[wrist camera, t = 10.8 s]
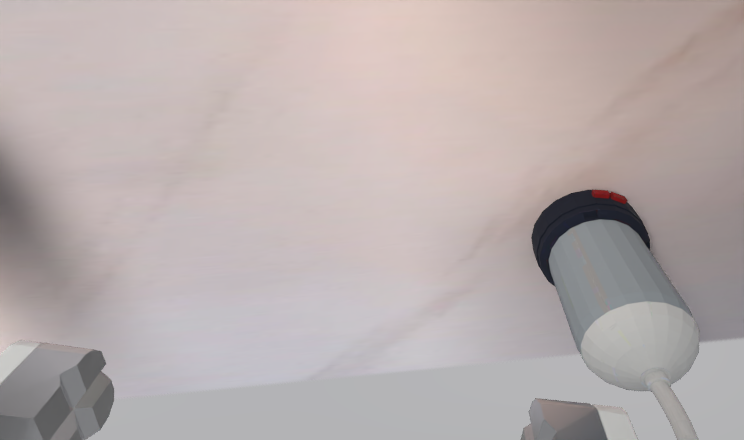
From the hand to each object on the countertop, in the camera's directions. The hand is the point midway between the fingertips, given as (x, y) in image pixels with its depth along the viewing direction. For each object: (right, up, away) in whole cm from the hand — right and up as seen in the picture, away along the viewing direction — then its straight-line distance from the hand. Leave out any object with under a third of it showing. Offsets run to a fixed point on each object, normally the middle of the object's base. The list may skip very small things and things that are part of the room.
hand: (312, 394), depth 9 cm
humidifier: (+18, +2, +31) cm, 36 cm away
